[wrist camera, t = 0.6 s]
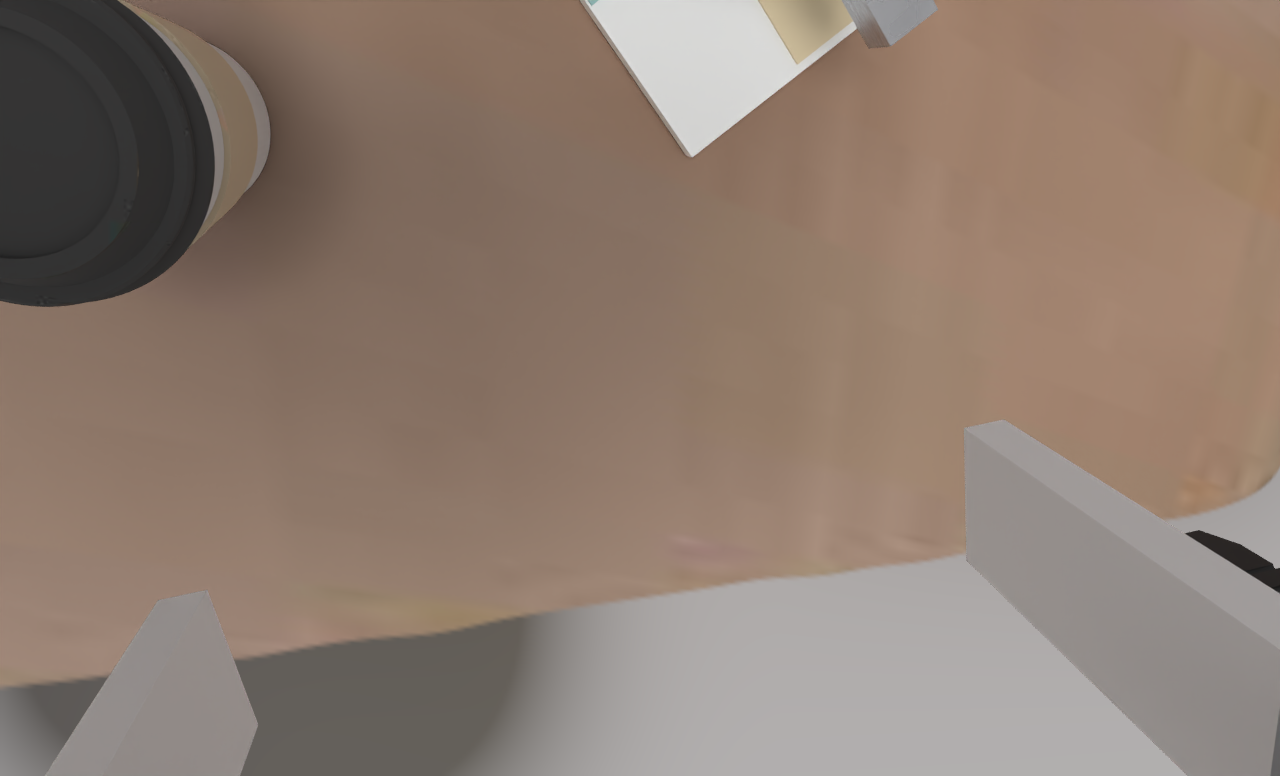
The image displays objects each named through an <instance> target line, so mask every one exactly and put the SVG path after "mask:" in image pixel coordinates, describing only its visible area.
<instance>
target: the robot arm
mask: <svg viewBox="0 0 1280 776" xmlns="http://www.w3.org/2000/svg"><path fill="white" fill-rule="evenodd" d="M964 453H965V506H966V558H967V562H968V563H969V564H970V565H972V566H973V567H974V568H975V569H976V570H977V571H978V572H979V573H980V574H981V575H982V576H983V577H984V578H985V579H986V580H987V581H988V582H989V583H990V584H991V585H992V586H993V587H994V588H995V589H996V590H997V591H998V592H999V593H1000V594H1001V595H1002V596H1003V597H1004V598H1005V599H1007V600H1008V602H1010V603H1011V604H1012V605H1013V606H1014V607H1015V608H1016V609H1017V610H1018V611H1019V612H1020V613H1021V614H1022V615H1023V616H1024V617H1025V618H1026V619H1027V620H1028V621H1029V622H1030V623H1031V624H1032V625H1033V626H1034V627H1035V628H1036V629H1038V631H1039V632H1040V633H1041V634H1042V635H1043V636H1045V638H1047V639H1048V640H1049V641H1050V642H1051V643H1052V644H1053V645H1054V646H1055V647H1056V648H1057V649H1058V650H1059V651H1060V652H1061V653H1062V654H1063V655H1064V656H1065V657H1066V658H1067V659H1068V660H1069V661H1070V662H1071V663H1072V664H1073V665H1074V666H1075V667H1076V668H1077V669H1078V670H1079V671H1080V672H1081V673H1082V674H1084V675H1085V676H1086V677H1087V678H1088V679H1089V680H1090V681H1091V682H1092V683H1093V684H1094V685H1095V686H1096V687H1097V688H1098V689H1099V690H1100V691H1101V692H1102V693H1103V694H1104V695H1105V696H1106V697H1107V698H1108V699H1109V700H1110V701H1111V702H1112V703H1113V704H1114V705H1115V706H1116V707H1117V708H1118V709H1120V710H1121V711H1122V712H1123V713H1124V714H1125V715H1126V716H1127V717H1128V718H1129V719H1130V720H1131V721H1132V722H1133V723H1134V724H1135V725H1136V726H1137V727H1138V728H1139V729H1140V730H1141V731H1142V732H1143V733H1144V734H1145V735H1146V736H1147V737H1148V738H1149V739H1150V740H1152V742H1153V743H1154V744H1155V745H1156V746H1158V747H1159V748H1160V749H1161V750H1162V751H1163V752H1164V753H1165V754H1166V755H1167V756H1168V757H1169V758H1170V759H1171V760H1172V761H1173V762H1174V763H1175V764H1176V765H1177V766H1178V767H1179V768H1180V769H1181V770H1182V771H1183V772H1184V773H1185V774H1186V775H1187V776H1280V568H1278V569H1275V568H1274V566H1273V564H1272V563H1270V562H1268V561H1267V560H1265V559H1263V558H1262V557H1260V556H1259V555H1257V554H1255V553H1254V552H1252V551H1250V550H1248V549H1247V548H1245V547H1244V546H1242V545H1240V544H1237V543H1235V542H1231V541H1229V540H1226V539H1223V538H1220V537H1217V536H1214V535H1211V534H1208V533H1205V532H1203V531H1200V530H1198V531H1193V532H1189V533H1183V532H1181V531H1180V530H1178V529H1177V528H1175V527H1173V526H1172V525H1170V524H1169V523H1167V522H1166V521H1164V520H1162V519H1161V518H1159V517H1158V516H1156V515H1154V514H1153V513H1151V512H1150V511H1148V510H1147V509H1145V508H1143V507H1142V506H1140V505H1139V504H1137V503H1135V502H1134V501H1132V500H1131V499H1129V498H1127V497H1126V496H1124V495H1123V494H1121V493H1120V492H1118V491H1116V490H1115V489H1113V488H1112V487H1110V486H1108V485H1107V484H1105V483H1104V482H1102V481H1101V480H1099V479H1097V478H1096V477H1094V476H1093V475H1091V474H1089V473H1088V472H1086V471H1085V470H1083V469H1081V468H1080V467H1078V466H1077V465H1075V464H1074V463H1072V462H1070V461H1069V460H1067V459H1066V458H1064V457H1062V456H1061V455H1059V454H1058V453H1056V452H1055V451H1053V450H1051V449H1050V448H1048V447H1047V446H1045V445H1043V444H1042V443H1040V442H1039V441H1037V440H1035V439H1034V438H1032V437H1031V436H1029V435H1028V434H1026V433H1024V432H1023V431H1021V430H1020V429H1018V428H1016V427H1015V426H1013V425H1012V424H1010V423H1009V422H1007V421H1005V420H1000V421H995V422H990V423H986V424H981V425H976V426H972V427H967V428H964ZM257 726H258V724H257V721H256V718H255V715H254V713H253V710H252V707H251V705H250V702H249V700H248V697H247V694H246V691H245V689H244V686H243V684H242V681H241V678H240V676H239V673H238V670H237V668H236V665H235V662H234V660H233V657H232V654H231V652H230V649H229V646H228V644H227V641H226V639H225V636H224V633H223V631H222V628H221V625H220V623H219V620H218V617H217V615H216V612H215V609H214V607H213V604H212V602H211V599H210V596H209V594H208V591H207V590H204V591H199V592H195V593H190V594H185V595H181V596H176V597H171V598H167V599H162V600H158V601H157V603H156V604H155V606H154V608H153V609H152V611H151V612H150V614H149V615H148V617H147V618H146V620H145V621H144V623H143V625H142V626H141V628H140V629H139V631H138V632H137V634H136V635H135V637H134V638H133V640H132V642H131V643H130V645H129V646H128V648H127V649H126V651H125V652H124V654H123V655H122V657H121V659H120V660H119V662H118V663H117V665H116V666H115V668H114V669H113V671H112V673H111V674H110V676H109V677H108V679H107V680H106V682H105V684H104V685H103V686H102V688H101V690H100V691H99V693H98V694H97V696H96V697H95V699H94V700H93V702H92V704H91V705H90V707H89V708H88V710H87V711H86V713H85V715H84V716H83V717H82V719H81V721H80V722H79V724H78V725H77V727H76V728H75V730H74V731H73V733H72V735H71V736H70V738H69V739H68V741H67V742H66V744H65V745H64V747H63V749H62V750H61V752H60V753H59V755H58V756H57V758H56V759H55V761H54V762H53V764H52V765H51V767H50V769H49V770H48V772H47V773H46V775H45V776H240V774H241V771H242V768H243V765H244V762H245V759H246V757H247V754H248V751H249V748H250V746H251V743H252V740H253V737H254V735H255V732H256V729H257Z"/></svg>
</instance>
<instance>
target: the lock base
mask: <svg viewBox="0 0 1280 776" xmlns="http://www.w3.org/2000/svg"><path fill="white" fill-rule="evenodd" d="M580 2H581V3H582V5H583V6H584V7H585V9H586V10H587V12H588V13H589V15H590V16H591V18H592V19H593V21H594V22H595V24H596V25H597V26H598V28H599V29H600V31H601V32H602V34H603V35H604V37H605V38H606V40H607V41H608V42H609V44H610V45H611V47H612V48H613V50H614V51H615V53H616V54H617V56H618V57H619V59H620V60H621V61H622V63H623V64H624V66H625V67H626V69H627V70H628V72H629V73H630V75H631V76H632V77H633V79H634V80H635V82H636V83H637V85H638V86H639V88H640V89H641V91H642V92H643V93H644V95H645V96H646V98H647V99H648V101H649V102H650V104H651V105H652V107H653V108H654V110H655V111H656V112H657V114H658V115H659V117H660V118H661V120H662V121H663V123H664V124H665V126H666V127H667V128H668V130H669V131H670V133H671V134H672V136H673V137H674V139H675V140H676V142H677V143H678V145H679V146H680V147H681V149H682V150H683V152H684V153H685V155H686V156H689V157H693V156H695V155H696V154H697V153H698V152H700V151H701V150H702V149H704V148H705V147H706V146H707V145H709V144H710V143H711V142H713V141H714V140H715V139H716V138H718V137H719V136H720V135H722V134H723V133H724V132H725V131H727V130H728V129H729V128H730V127H732V126H733V125H734V124H736V123H737V122H738V121H739V120H741V119H742V118H743V117H745V116H746V115H747V114H748V113H750V112H751V111H752V110H753V109H755V108H756V107H757V106H759V105H760V104H761V103H762V102H764V101H765V100H766V99H768V98H769V97H770V96H771V95H773V94H774V93H775V92H777V91H778V90H779V89H780V88H782V87H783V86H784V85H785V84H787V83H788V82H789V81H791V80H792V79H793V78H794V77H796V76H797V75H798V74H800V73H801V72H802V71H803V70H805V69H806V68H807V67H808V66H810V65H811V64H812V63H814V62H815V61H816V60H817V59H819V58H820V57H821V56H823V55H824V54H825V53H826V52H828V51H829V50H830V49H831V48H833V47H834V46H835V45H837V44H838V43H839V42H840V41H842V40H843V39H844V38H846V37H847V36H848V35H849V34H851V33H852V32H853V31H855V30H856V29H857V27H856V25H855V23H854V22H853V20H852V18H851V16H850V14H849V13H848V11H847V9H846V7H845V6H844V4H843V2H842V0H580Z"/></svg>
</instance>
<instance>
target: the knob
mask: <svg viewBox="0 0 1280 776" xmlns="http://www.w3.org/2000/svg"><path fill="white" fill-rule="evenodd" d="M842 2H843V4H844V6H845V7H846V9H847V11H848V13H849V14H850V16H851V18H852V20H853V22H854V23H855V25H856V27H857V29H858V30H859V32H860V34H861V36H862V38H863V39H864V41H865V43H866V45H867V46H868V48H869V49H870V48H879V47H889V46H892V45H893V44H894V43H896V42H897V41H898V40H899V39H901V38H902V37H903V36H905V35H906V34H907V33H908V32H910V31H911V30H912V29H914V28H915V27H916V26H917V25H919V24H920V23H921V22H923V21H924V20H925V19H926V18H928V17H929V16H930V15H932V14H933V13H934V12H935V11H937V10H938V9H937V7H936V5H935V3H934V1H933V0H842Z"/></svg>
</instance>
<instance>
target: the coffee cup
mask: <svg viewBox="0 0 1280 776" xmlns="http://www.w3.org/2000/svg"><path fill="white" fill-rule="evenodd" d="M270 137H271V134H270V121H269V116H268V112H267V108H266V105H265V102H264V100H263V98H262V95H261V93H260V91H259V89H258V88H257V86H256V84H255V83H254V81H253V80H252V78H251V77H250V76H249V74H248V73H247V72H246V71H245V70H244V69H243V68H242V66H241V65H240V64H239V63H237V62H236V61H235V60H234V59H233V58H232V57H230V56H229V55H228V54H227V53H225V52H224V51H222V50H220V49H219V48H217V47H215V46H213V45H211V44H209V43H207V42H205V41H204V40H203V39H201V38H200V37H198V36H197V35H195V34H194V33H192V32H191V31H189V30H187V29H185V28H183V27H181V26H179V25H177V24H175V23H173V22H170V21H168V20H166V19H164V18H161V17H159V16H157V15H155V14H152V13H150V12H148V11H146V10H143V9H141V8H139V7H137V6H135V5H132V4H130V3H128V2H126V1H123V0H0V301H4V302H9V303H14V304H20V305H28V306H42V307H53V306H67V305H75V304H80V303H85V302H91V301H98V300H103V299H108V298H112V297H115V296H119V295H122V294H125V293H127V292H130V291H132V290H135V289H137V288H139V287H141V286H143V285H145V284H147V283H149V282H150V281H152V280H154V279H155V278H157V277H158V276H160V275H161V274H162V273H164V272H165V271H166V270H167V269H169V268H170V267H171V266H172V265H173V264H174V263H175V262H176V261H177V260H178V259H179V258H180V257H181V256H182V255H183V254H184V253H185V251H186V250H187V249H188V248H189V247H190V246H192V245H193V244H194V243H195V242H196V241H197V240H198V239H199V238H200V237H201V236H202V235H203V234H205V233H206V232H207V231H208V230H209V229H210V228H211V227H212V226H213V225H214V224H215V223H216V222H217V221H218V220H219V219H221V218H222V217H223V216H224V215H225V214H226V213H227V212H228V211H229V210H230V209H231V208H232V207H233V206H234V205H235V204H236V203H237V201H238V200H239V199H240V197H241V196H242V195H243V193H244V192H245V191H247V190H248V189H249V188H250V187H251V186H252V185H253V183H254V182H255V181H256V179H257V178H258V177H259V175H260V173H261V172H262V170H263V168H264V165H265V163H266V160H267V157H268V153H269V148H270Z"/></svg>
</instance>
